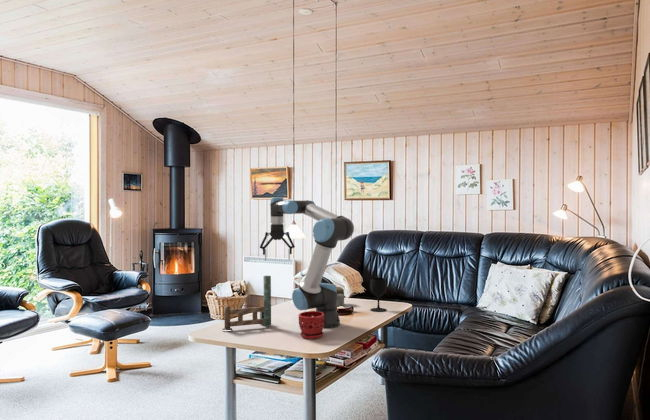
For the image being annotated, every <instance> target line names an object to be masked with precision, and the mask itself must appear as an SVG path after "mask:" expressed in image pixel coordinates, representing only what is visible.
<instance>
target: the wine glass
mask: <svg viewBox="0 0 650 420" xmlns="http://www.w3.org/2000/svg"><path fill="white" fill-rule="evenodd" d="M387 285H388V284H387V279H386V278H385V277H371V279H370V283H369V287H370V288H369V289H370V292H371V294H372V295H373V296H375V297H376V298H377V307H372V308H370V310H369V311H371V312H374V313H381V312H382V313H384V312H387V309H386V308H382V307H380V298H381V297H382V296H383V295H384V294H386V291H387V290H388V288H387V287H388V286H387Z"/></svg>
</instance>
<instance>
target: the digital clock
mask: <svg viewBox="0 0 650 420" xmlns="http://www.w3.org/2000/svg"><path fill="white" fill-rule="evenodd" d="M339 306H344V307H345V293H344V294H337V307H339Z"/></svg>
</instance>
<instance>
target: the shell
mask: <svg viewBox="0 0 650 420" xmlns="http://www.w3.org/2000/svg"><path fill="white" fill-rule="evenodd" d="M336 288H337V294H344V295H345V291H344V289H343V287H342V286H341V287H340V286H336Z"/></svg>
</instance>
